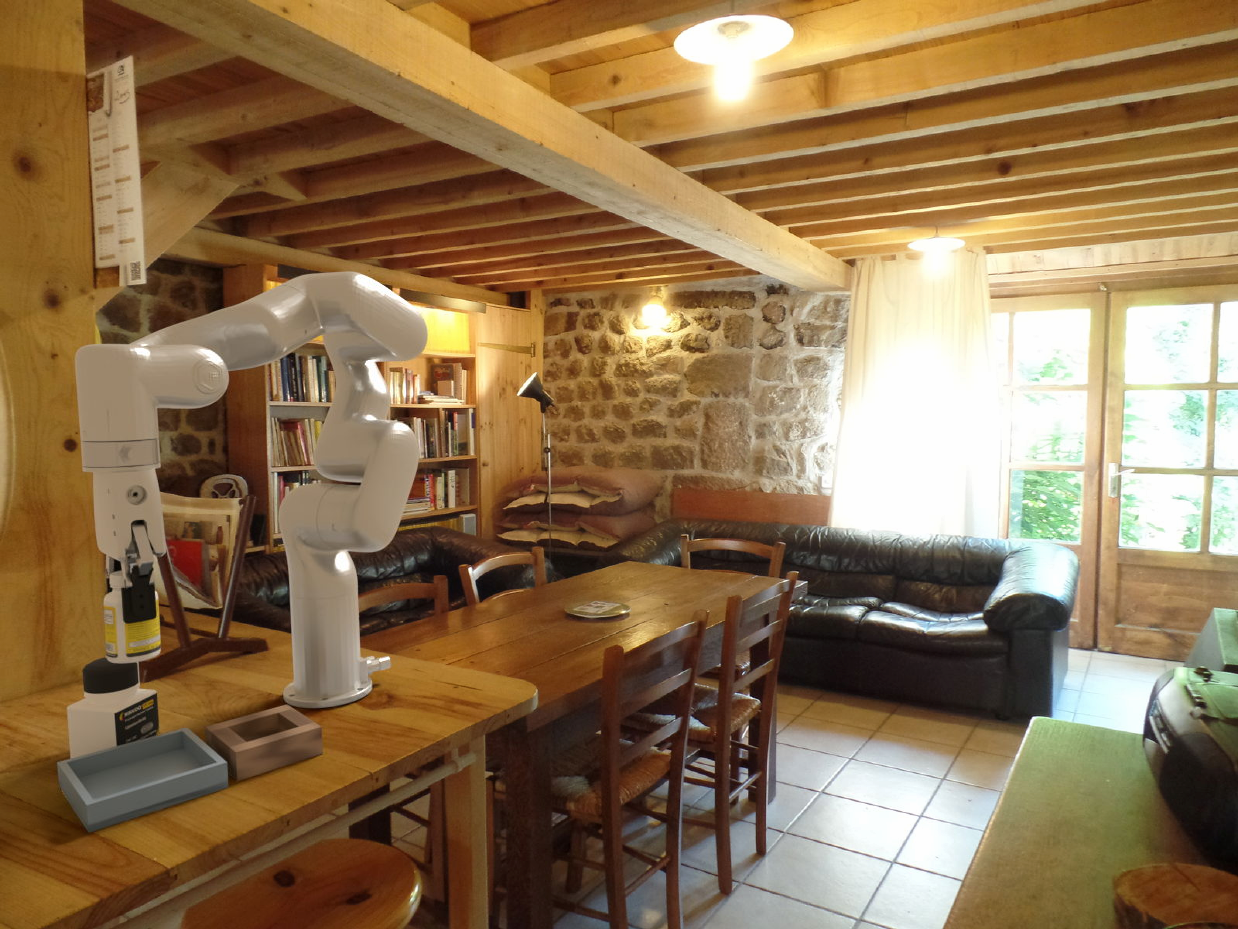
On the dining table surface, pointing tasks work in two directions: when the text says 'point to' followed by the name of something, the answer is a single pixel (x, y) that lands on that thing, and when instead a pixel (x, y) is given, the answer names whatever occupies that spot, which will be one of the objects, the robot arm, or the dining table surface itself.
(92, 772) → the pin tray
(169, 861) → the dining table surface
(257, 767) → the small brown open box
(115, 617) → the supplement bottle
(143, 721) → the medicine bottle
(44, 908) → the dining table surface
